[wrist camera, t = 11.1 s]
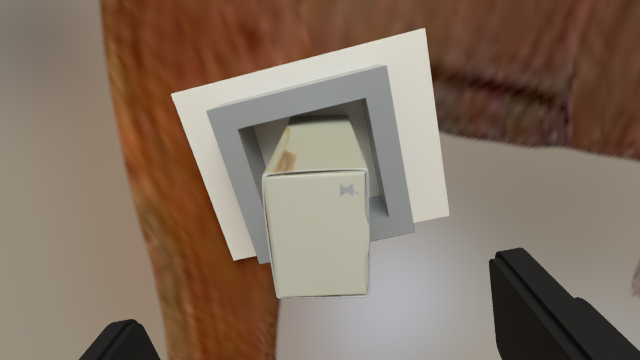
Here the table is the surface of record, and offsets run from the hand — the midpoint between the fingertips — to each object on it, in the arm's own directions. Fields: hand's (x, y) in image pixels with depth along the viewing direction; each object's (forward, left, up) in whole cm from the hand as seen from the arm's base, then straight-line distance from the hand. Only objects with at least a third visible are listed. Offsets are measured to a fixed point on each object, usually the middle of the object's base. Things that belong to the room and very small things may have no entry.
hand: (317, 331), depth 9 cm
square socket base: (0, 0, -19) cm, 18 cm away
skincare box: (0, 0, -18) cm, 18 cm away
